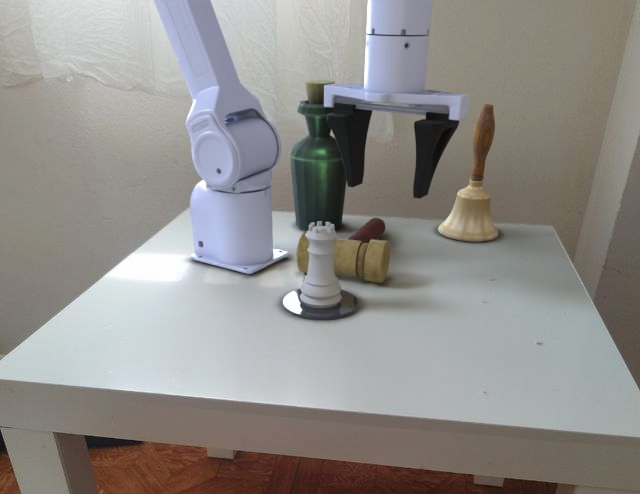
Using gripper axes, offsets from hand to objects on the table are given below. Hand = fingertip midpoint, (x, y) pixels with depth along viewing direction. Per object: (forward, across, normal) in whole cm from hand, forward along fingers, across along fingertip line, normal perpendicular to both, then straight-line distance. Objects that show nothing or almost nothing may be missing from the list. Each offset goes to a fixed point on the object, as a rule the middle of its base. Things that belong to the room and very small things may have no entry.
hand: (386, 190), depth 63 cm
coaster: (+10, -3, -8) cm, 13 cm away
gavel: (+11, -7, +8) cm, 15 cm away
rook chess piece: (+10, -3, -8) cm, 13 cm away
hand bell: (+11, +1, +24) cm, 26 cm away
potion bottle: (+11, -18, +15) cm, 26 cm away
